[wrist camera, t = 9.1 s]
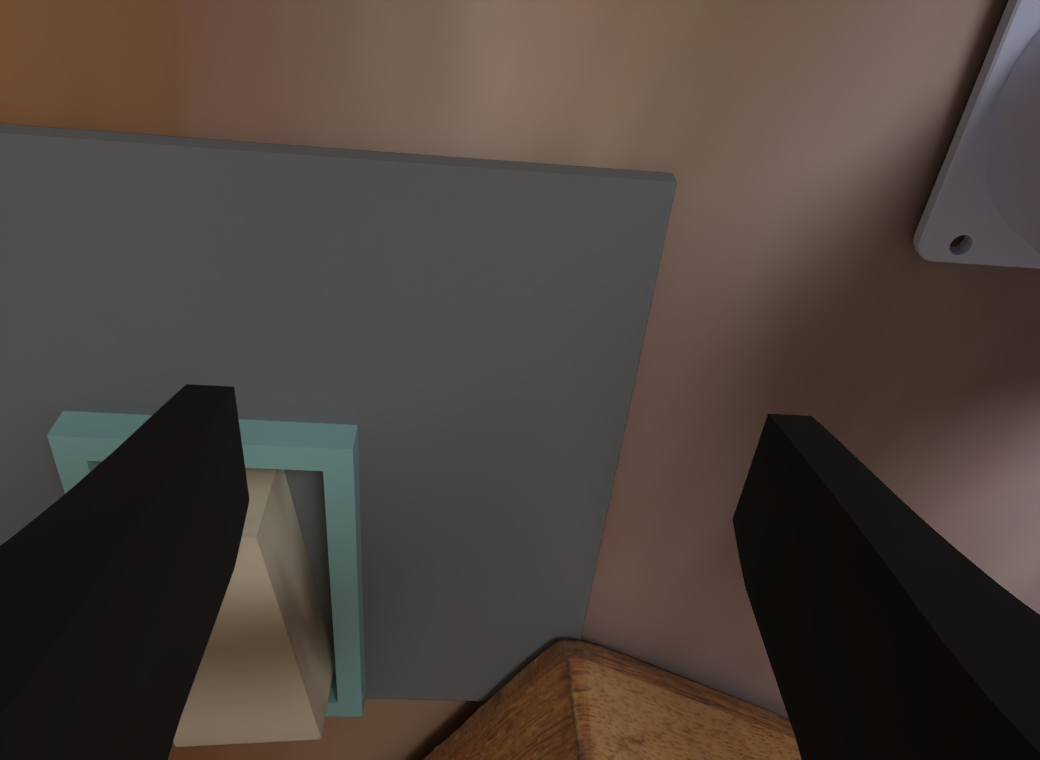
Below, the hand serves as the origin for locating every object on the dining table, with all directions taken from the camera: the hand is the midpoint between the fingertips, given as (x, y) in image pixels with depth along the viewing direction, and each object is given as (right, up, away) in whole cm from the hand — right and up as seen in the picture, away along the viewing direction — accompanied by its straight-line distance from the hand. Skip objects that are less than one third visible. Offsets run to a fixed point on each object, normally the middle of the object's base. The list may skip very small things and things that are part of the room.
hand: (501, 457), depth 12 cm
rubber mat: (-6, -2, +13) cm, 14 cm away
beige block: (-8, -5, +14) cm, 17 cm away
